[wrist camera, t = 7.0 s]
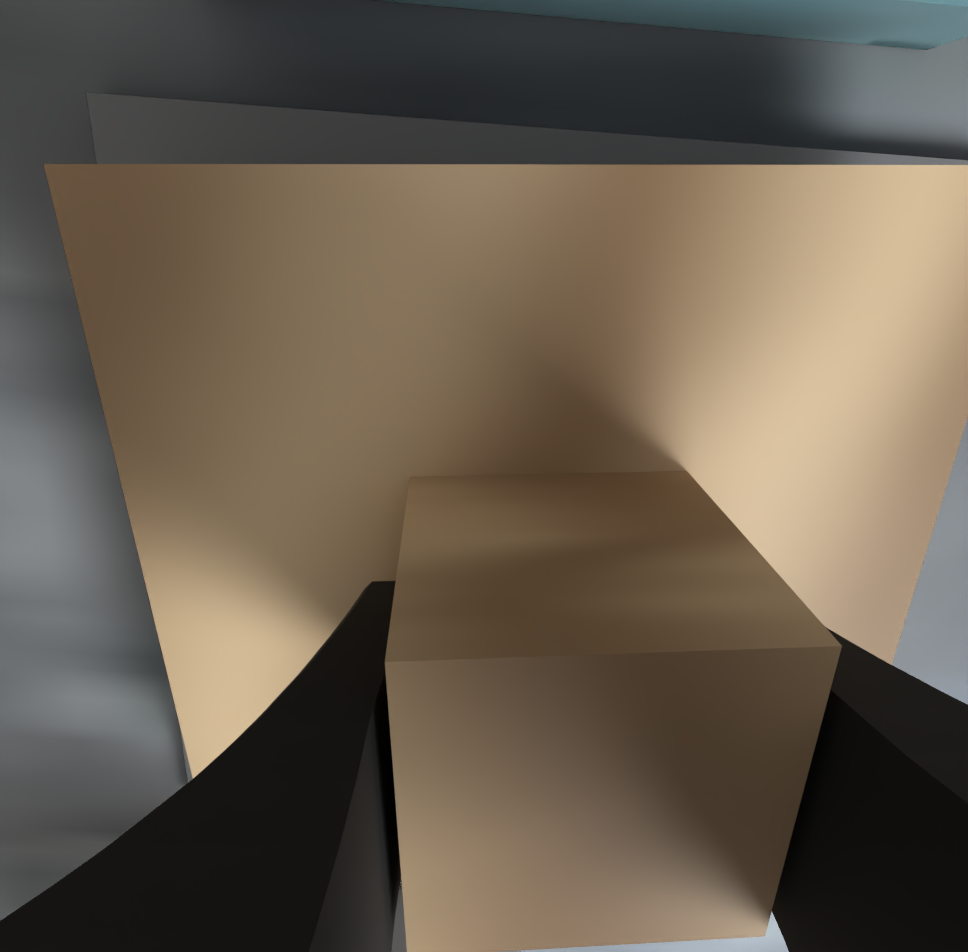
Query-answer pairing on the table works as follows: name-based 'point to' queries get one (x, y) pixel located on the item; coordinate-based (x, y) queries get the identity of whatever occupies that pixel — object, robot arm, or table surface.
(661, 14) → the teal dish
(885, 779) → the robot arm
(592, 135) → the rubber mat
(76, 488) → the table surface
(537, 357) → the oak cover
